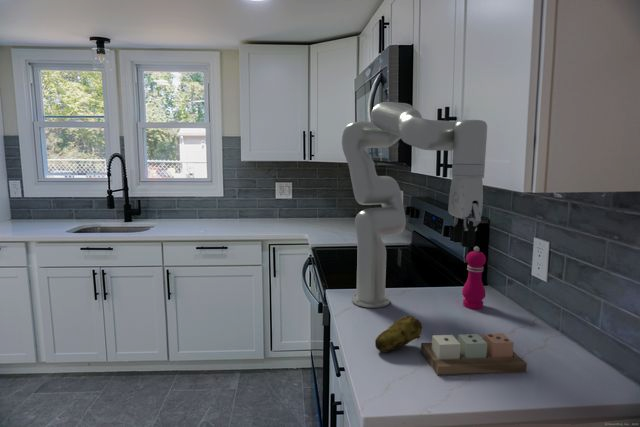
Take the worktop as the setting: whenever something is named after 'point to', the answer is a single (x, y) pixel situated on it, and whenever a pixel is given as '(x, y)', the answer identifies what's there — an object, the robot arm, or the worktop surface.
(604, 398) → the worktop surface
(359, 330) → the worktop surface
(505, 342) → the three-pip tile
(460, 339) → the two-pip tile
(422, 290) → the worktop surface
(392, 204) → the robot arm
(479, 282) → the pepper mill
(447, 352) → the one-pip tile
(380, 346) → the potato
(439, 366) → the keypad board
